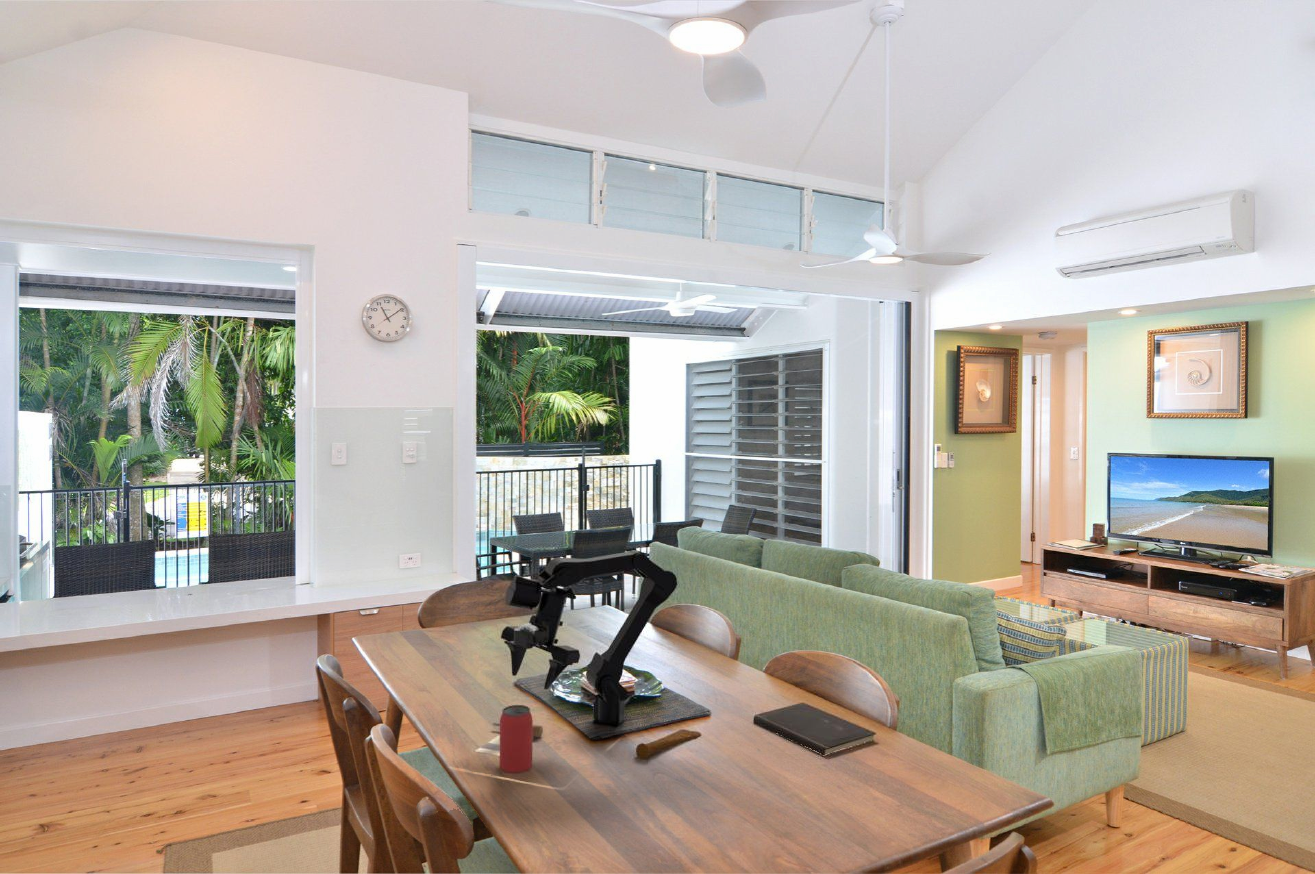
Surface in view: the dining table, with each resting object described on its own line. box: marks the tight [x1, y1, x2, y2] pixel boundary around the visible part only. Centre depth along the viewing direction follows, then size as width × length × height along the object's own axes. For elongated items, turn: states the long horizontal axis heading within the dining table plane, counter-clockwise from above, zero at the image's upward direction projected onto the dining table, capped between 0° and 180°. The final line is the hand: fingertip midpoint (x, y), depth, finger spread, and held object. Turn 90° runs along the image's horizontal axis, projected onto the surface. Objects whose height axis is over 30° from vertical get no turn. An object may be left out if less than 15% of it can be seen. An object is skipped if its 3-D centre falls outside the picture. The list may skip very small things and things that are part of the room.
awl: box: [492, 722, 544, 738], centre depth 184 cm, size 12×2×2 cm, turn 68°
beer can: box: [499, 704, 534, 774], centre depth 166 cm, size 7×7×12 cm
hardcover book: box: [753, 702, 877, 756], centre depth 187 cm, size 16×23×2 cm
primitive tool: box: [635, 728, 702, 761], centre depth 179 cm, size 19×6×4 cm, turn 145°
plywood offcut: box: [474, 734, 536, 757], centre depth 179 cm, size 8×15×1 cm, turn 158°
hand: (529, 682), depth 184 cm, fingers open, 9 cm apart
